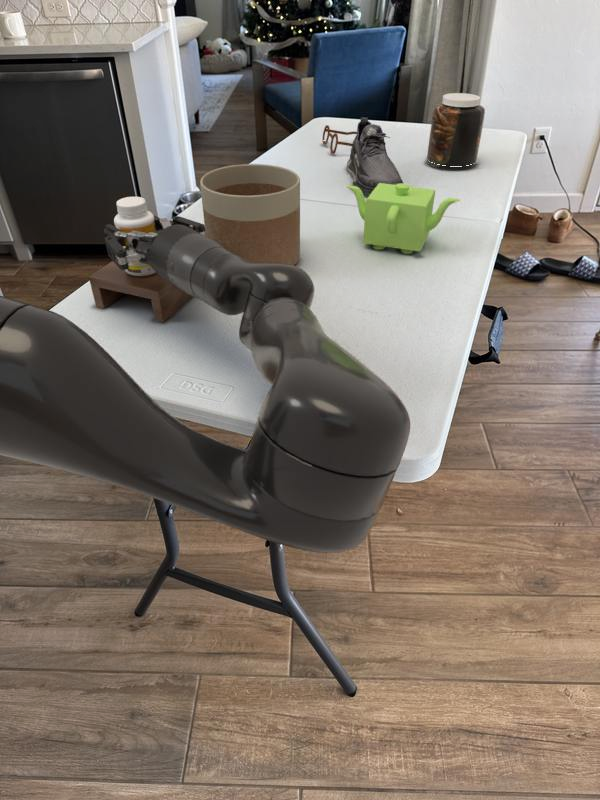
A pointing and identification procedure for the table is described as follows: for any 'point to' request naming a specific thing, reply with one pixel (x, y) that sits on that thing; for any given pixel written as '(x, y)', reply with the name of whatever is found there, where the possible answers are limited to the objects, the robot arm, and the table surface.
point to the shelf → (137, 290)
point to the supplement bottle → (135, 227)
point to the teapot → (399, 215)
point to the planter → (254, 211)
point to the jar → (456, 132)
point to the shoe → (371, 159)
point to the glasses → (336, 138)
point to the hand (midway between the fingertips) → (127, 225)
